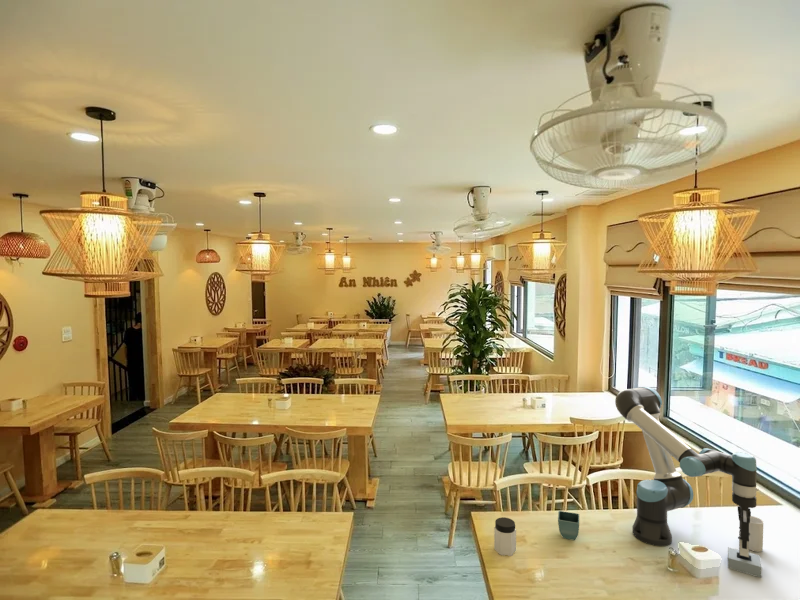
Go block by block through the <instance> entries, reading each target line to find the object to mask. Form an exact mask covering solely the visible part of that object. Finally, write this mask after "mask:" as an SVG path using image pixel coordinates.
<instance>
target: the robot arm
mask: <svg viewBox="0 0 800 600" xmlns="http://www.w3.org/2000/svg"><path fill="white" fill-rule="evenodd" d="M614 402H615V407H616V409H617V411H618V413H619V414H620V415H621V416H622V417H623V418H624V419H625V420H626V421H627V422H631V423H633V424H634V425H635V426H637V427H638V428H639V429H640V430H641V432H642V435H643V439H644V441H645V445H646V448H647V451H648V454H649V456H650V460H651V463H652V467H653V469H654V473H655V474H654V476H653V479H643V480H640V481H639V482H638V483H637V487H636V517H635V521H634V523H633V525H632V534H633V536H634V537H635V538H636V539H637V540H639V541H641V542H643V543H646V544H648V545H650V546H651V545H653V546H657V547H658V546H659V547H665V546H670V545H671V544H672V542H673V535H672V533H671V530H670V526H669V524H668V512H670V511H673V510H676V509H682V508H686V507H687V506H688V505H690V504H691V503H692V501H693V500H694V490H693V487H692V485H691V484H690V483H689V482H688V481H687V480H686V479H684V478H683V475H682V474H681V473H680V472H678V471H677V469H676V467H675V463H674V460H673V459H675V460H676V461H677V462H678V463H679V468H680V469H681V472H682V473H683V474H684V475H686V476H688V477H691V478H693V477H694V478H695V477H702V476H704V475H708V474H713V473H716V472H721V473H724V474H727V475H730V476H731V477H732V478H731V479H732V480H731V491H732V493H731V495H732V496H731V499H732V503H734V504H735V505H737V514H738V520H739V527H738V529H739V531H738V533H739V532H740V537H739V536H737V539H738V540H739V539H740V555H742V556H745V557H749V553H750V550H749V535H750V533H749V523H750V516H752V514H751V513H752V512H751V509H755V508H756V507H757V497H756V496H757V491H759V488H758V487H757V471H758V467H757V459H756V457H755V456H754V455H752V454H751V453H750V454H749V453H748V452H747V453H746V452H745V453H744V452H739V451H736V452H733V453H732V454H727V453H724V452H721V451H718V450H716V449H713V448H712V449H711V448H707V447H706V448H705V447H703V448H702V449H701V450H700V451H699V453H698V452H696V451H695V450H693V449H692V448H691V447H690V446H689V445H688V444H686V443H685V442H684V441H682V440H681V439H680V437H678V436H676V435H675V434H674V433H673V432H672V431H670V430H669V429H668V427H666V426H664V425H663V424H662V423H661V422H660V419H659V417H660V416H661V411H660V408H661V407H662V405H663V404H662V403H663V399H662V397H661V396H660V393H659V392H658V391H656V390H655V389H653V388H652V387H648V386H647V387H645V386H642V387H641V386H639V387H634V388H627V389H626V388H625V389H623V390H621V391H619V392H618V393H617V394H616V396H615V401H614ZM672 457H673V458H672Z"/></svg>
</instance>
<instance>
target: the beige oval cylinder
mask: <svg viewBox="0 0 800 600" xmlns="http://www.w3.org/2000/svg"><path fill="white" fill-rule="evenodd" d="M749 533H750V535H749V551H753V552H757V553H761V552H762V551H763V550H764V549H763V545H764V543H763V542H764V521H763V520H762V519H761V518H760V517H756V516H754V515H751V516H750V523H749Z"/></svg>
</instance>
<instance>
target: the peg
mask: <svg viewBox="0 0 800 600" xmlns="http://www.w3.org/2000/svg"><path fill="white" fill-rule="evenodd" d="M738 533H739V535H738V537H740V532H739V531H738ZM738 540H739V541H738V545H739V546H738V550H739V558H740V559H744V560H748V561H749V557H745V556H742V555H740V539H738Z"/></svg>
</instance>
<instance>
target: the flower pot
mask: <svg viewBox="0 0 800 600" xmlns="http://www.w3.org/2000/svg"><path fill="white" fill-rule="evenodd" d="M557 514H558V516H557V525H558V531H559V534H560V537H562V539H565V538H566V539H565V540H571V541H576V540H577V539H578V537H579V533H580V532H579V531H580V514H579V513H575V512H569V511H568V512H567V511H564V510H558V513H557Z"/></svg>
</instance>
